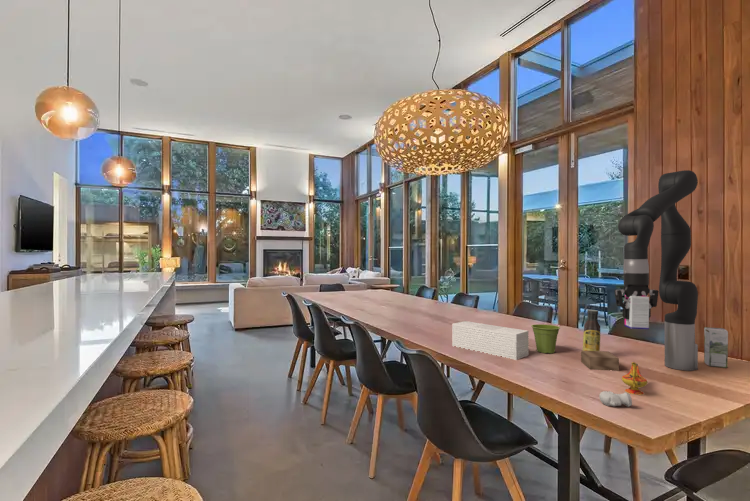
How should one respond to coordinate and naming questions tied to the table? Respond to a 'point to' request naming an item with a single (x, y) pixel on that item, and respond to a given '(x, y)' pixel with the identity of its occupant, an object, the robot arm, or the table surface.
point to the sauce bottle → (591, 332)
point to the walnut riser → (600, 360)
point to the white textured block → (491, 339)
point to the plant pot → (545, 337)
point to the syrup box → (716, 347)
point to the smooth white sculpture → (615, 399)
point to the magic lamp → (634, 380)
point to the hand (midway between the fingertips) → (636, 318)
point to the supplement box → (638, 313)
